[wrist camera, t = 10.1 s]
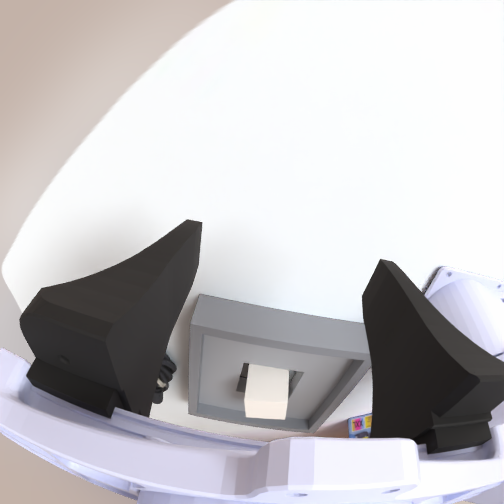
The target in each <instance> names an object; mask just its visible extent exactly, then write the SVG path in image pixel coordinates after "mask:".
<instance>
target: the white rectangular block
mask: <svg viewBox="0 0 504 504" xmlns="http://www.w3.org/2000/svg"><path fill="white" fill-rule="evenodd" d="M288 386H289V370H286V369H279V368H273V367H267V366H261V365H255V364H249V369H248V377H247V384H246V391H245V398H244V403H245V413H246V417H250V418H264V419H283V420H285V417H286V410H287V404H288Z"/></svg>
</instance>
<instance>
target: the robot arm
mask: <svg viewBox="0 0 504 504" xmlns="http://www.w3.org/2000/svg"><path fill="white" fill-rule="evenodd" d="M201 232H202V222H198V221H193V220H186V221H184V222H183V223H181V224H180V225H179V226H177V227H176V228H175V229H173V230H172V231H171V232H169V233H168V234H166V235H165V236H164V237H162V238H161V239H159V240H158V241H157V242H155V243H154V244H152V245H151V246H149V247H147V248H146V249H144V250H143V251H141V252H140V253H138V254H136V255H134V256H133V257H131V258H129V259H127V260H125V261H123V262H121V263H119V264H117V265H115V266H112V267H110V268H107V269H105V270H103V271H100V272H98V273H95V274H93V275H90V276H87V277H84V278H81V279H77V280H74V281H71V282H67V283H63V284H58V285H54V286H49V287H44V288H41V290H40V291H39V292H38V293H37V295H36V296H35V297H34V299H33V300H32V301H31V303H30V304H29V305H28V307H27V308H26V309H25V311H24V312H23V313H22V315H21V317H20V328H21V330H22V333H23V335H24V337H25V339H26V341H27V343H28V344H29V346H30V348H31V350H32V352H33V353H34V355H35V357H36V359H35V360H34V362H33V364H32V365H31V364H30V363H29V362H27V360H25V359H24V358H22V357H20V356H18V355H16V354H14V353H12V352H10V351H9V350H7V349H5V348H0V432H1V433H2V434H3V435H4V436H6V437H7V438H9V439H11V440H12V441H14V442H15V443H17V444H19V445H20V446H22V447H23V448H25V449H27V450H29V451H30V452H32V453H34V454H35V455H37V456H39V457H41V458H42V459H44V460H46V461H48V462H50V463H52V464H53V465H56V466H58V467H59V468H61V469H63V470H65V471H67V472H69V473H71V474H73V475H75V476H77V477H80V478H82V479H84V480H86V481H88V482H91V483H93V484H95V485H97V486H100V487H102V488H105V489H107V490H110V491H112V492H115V493H117V494H120V495H123V496H125V497H128V498H131V499H134V500H137V504H452V503H456V502H459V501H462V500H463V501H468V502H472V503H476V504H504V281H502V280H498V279H494V278H490V277H486V276H482V275H479V274H475V273H471V272H467V271H463V270H459V269H455V268H451V267H447V266H444V267H441V268H440V269H439V271H438V273H437V274H436V276H435V278H434V279H433V281H432V283H431V284H430V286H429V288H428V289H427V291H426V293H425V294H424V295H423V294H422V292H421V291H420V290H419V289H418V288H417V287H416V286H415V284H414V283H413V282H412V281H411V280H410V279H409V278H408V276H407V275H406V274H405V273H404V272H403V271H402V270H401V269H400V268H399V267H398V266H397V265H396V264H395V263H394V262H392V261H387V260H383V259H380V261H379V263H378V265H377V267H376V269H375V271H374V273H373V275H372V277H371V279H370V281H369V283H368V285H367V287H366V289H365V291H364V293H363V295H362V307H363V319H364V325H365V330H366V335H367V341H368V346H369V352H370V358H371V365H372V379H373V405H372V421H371V432H370V438H327V437H288V438H283V439H277V440H273V441H271V442H264V441H257V440H249V439H243V438H237V437H231V436H225V435H220V434H214V433H209V432H204V431H200V430H195V429H191V428H186V427H182V426H178V425H174V424H170V423H166V422H163V421H159V420H155V419H152V418H149V415H150V410H151V406H152V401H153V397H154V393H155V389H156V385H157V381H158V377H159V373H160V369H161V366H162V362H163V358H164V355H165V352H166V348H167V345H168V342H169V338H170V335H171V333H172V330H173V328H174V325H175V323H176V321H177V319H178V316H179V314H180V312H181V310H182V307H183V305H184V303H185V301H186V298H187V296H188V294H189V292H190V289H191V287H192V285H193V281H194V278H195V275H196V272H197V268H198V265H199V255H200V243H201ZM447 273H448V274H447Z"/></svg>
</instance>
